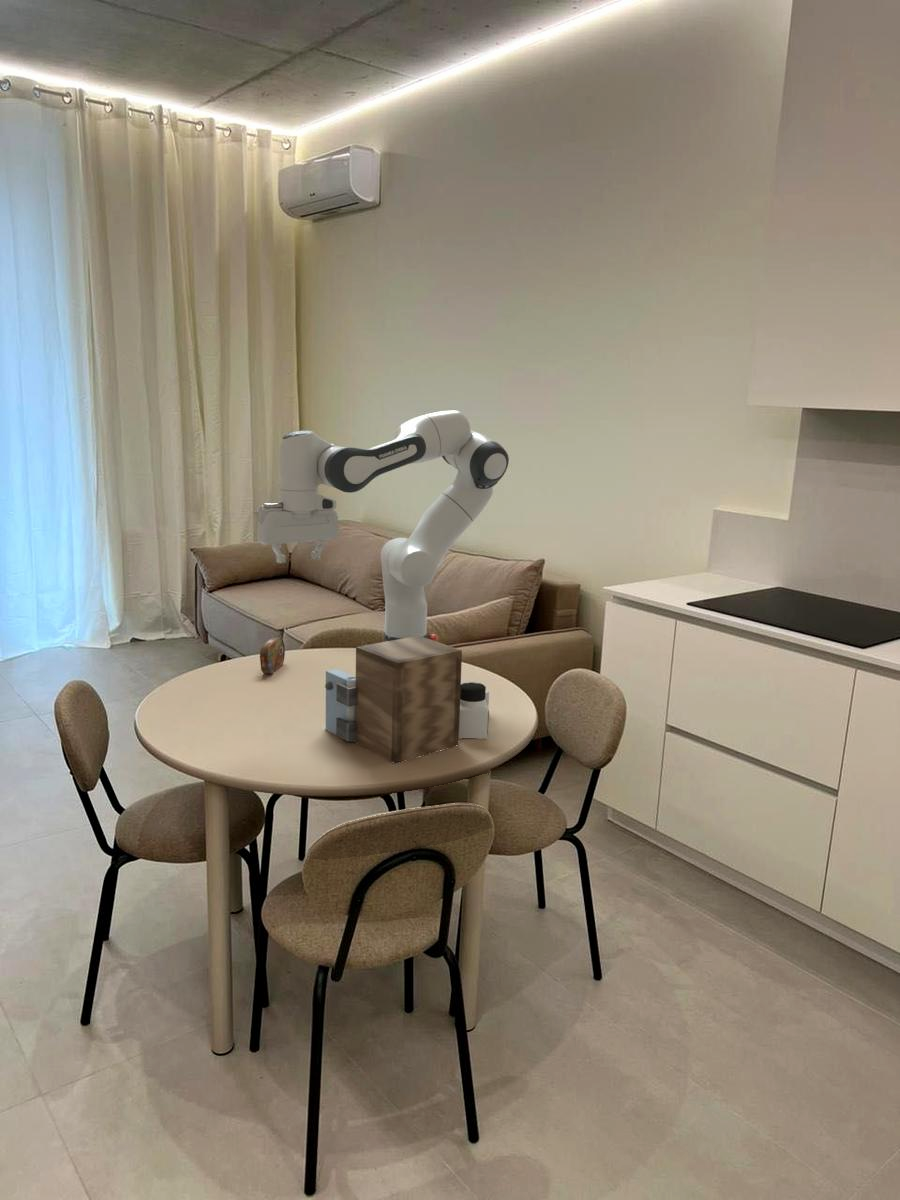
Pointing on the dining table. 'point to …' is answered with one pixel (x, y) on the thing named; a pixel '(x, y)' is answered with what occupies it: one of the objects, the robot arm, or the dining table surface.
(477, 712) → the medicine bottle
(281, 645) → the tin
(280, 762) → the dining table surface
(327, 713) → the door
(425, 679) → the cabinet
